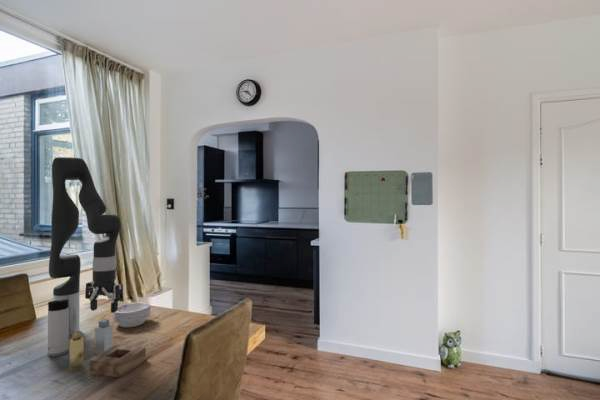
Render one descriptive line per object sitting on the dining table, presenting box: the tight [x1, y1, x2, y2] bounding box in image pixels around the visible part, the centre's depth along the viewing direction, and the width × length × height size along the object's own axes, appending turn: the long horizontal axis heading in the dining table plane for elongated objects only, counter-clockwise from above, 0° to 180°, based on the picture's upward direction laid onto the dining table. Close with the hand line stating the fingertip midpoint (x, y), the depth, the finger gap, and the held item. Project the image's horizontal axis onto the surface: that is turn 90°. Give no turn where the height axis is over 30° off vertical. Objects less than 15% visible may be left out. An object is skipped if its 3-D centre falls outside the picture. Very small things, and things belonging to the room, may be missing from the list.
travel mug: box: [47, 299, 70, 358], centre depth 124 cm, size 6×7×20 cm
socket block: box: [89, 344, 147, 378], centre depth 114 cm, size 12×12×4 cm
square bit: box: [94, 318, 114, 356], centre depth 125 cm, size 4×4×12 cm
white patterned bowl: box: [112, 301, 151, 328], centre depth 153 cm, size 15×15×8 cm
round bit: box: [68, 331, 85, 372], centre depth 113 cm, size 4×4×12 cm
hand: (104, 311), depth 125 cm, fingers open, 8 cm apart
